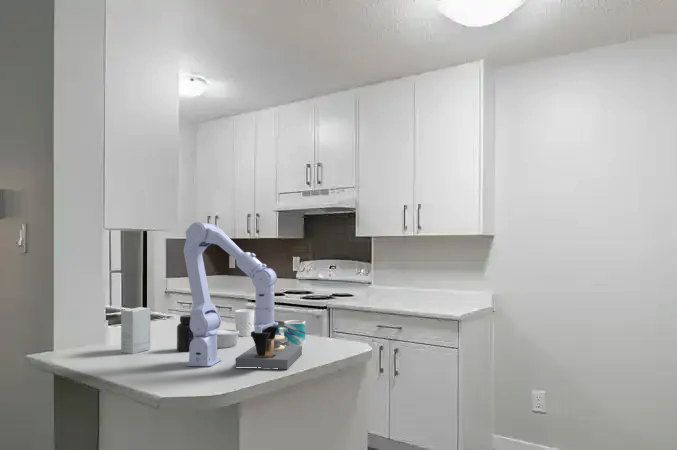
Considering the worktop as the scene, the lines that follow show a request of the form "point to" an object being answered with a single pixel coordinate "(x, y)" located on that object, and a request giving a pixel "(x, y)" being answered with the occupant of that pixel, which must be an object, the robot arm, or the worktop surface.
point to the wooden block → (269, 349)
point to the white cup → (244, 321)
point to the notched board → (281, 359)
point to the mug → (293, 333)
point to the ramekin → (227, 338)
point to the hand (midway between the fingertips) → (265, 352)
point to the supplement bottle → (184, 334)
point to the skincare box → (135, 330)
